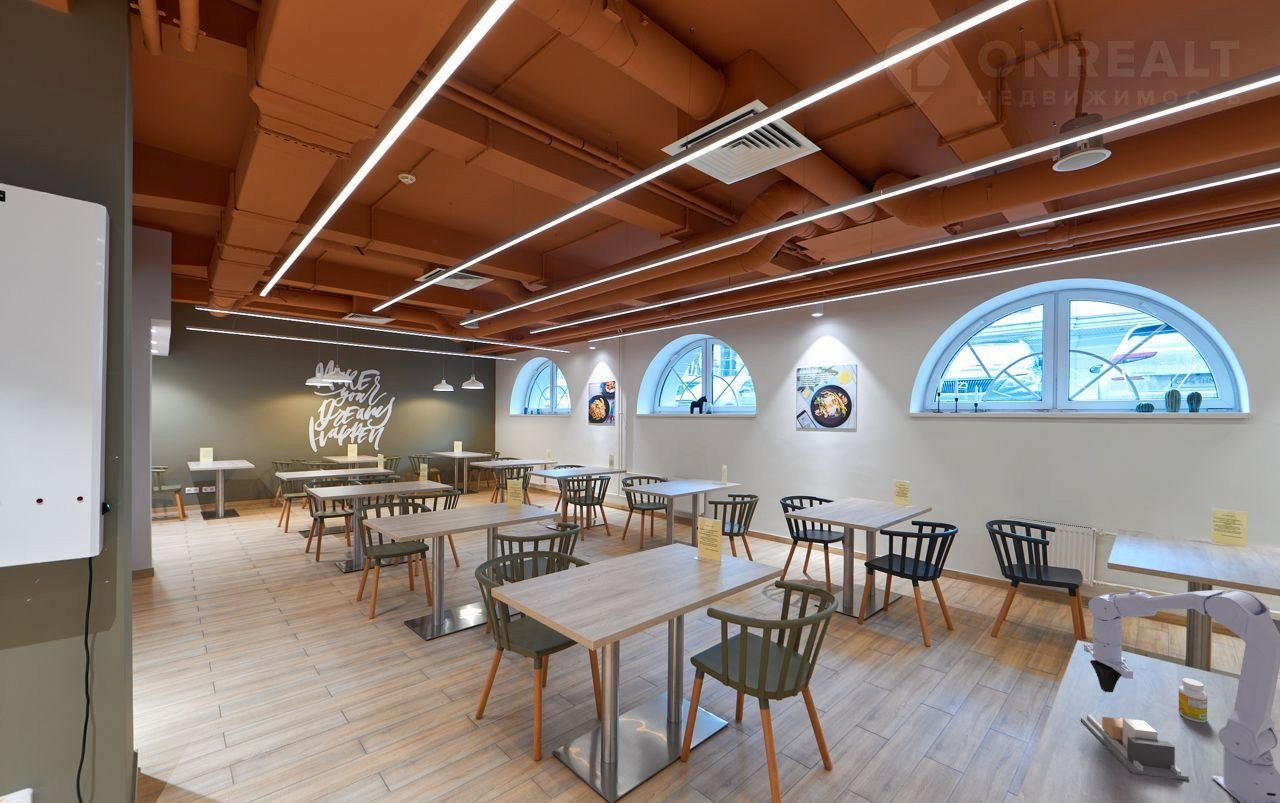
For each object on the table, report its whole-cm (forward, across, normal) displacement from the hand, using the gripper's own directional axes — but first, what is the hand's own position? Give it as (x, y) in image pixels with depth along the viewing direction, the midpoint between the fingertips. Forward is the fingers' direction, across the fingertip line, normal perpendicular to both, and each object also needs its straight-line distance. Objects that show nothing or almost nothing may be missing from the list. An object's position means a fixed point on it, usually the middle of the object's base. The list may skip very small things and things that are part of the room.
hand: (1107, 690), depth 139 cm
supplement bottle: (+10, +6, -26) cm, 28 cm away
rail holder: (+9, -9, +1) cm, 13 cm away
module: (+9, -12, +1) cm, 15 cm away
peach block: (+7, -8, +1) cm, 10 cm away
